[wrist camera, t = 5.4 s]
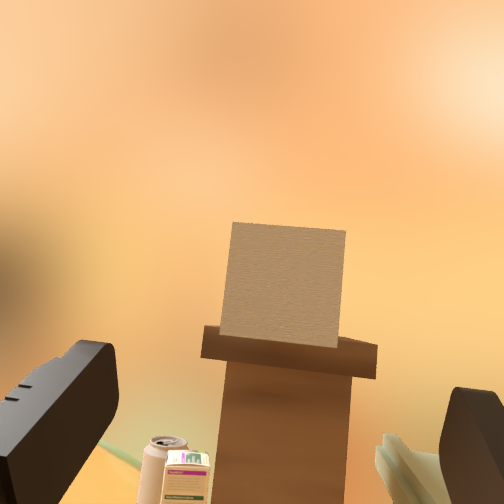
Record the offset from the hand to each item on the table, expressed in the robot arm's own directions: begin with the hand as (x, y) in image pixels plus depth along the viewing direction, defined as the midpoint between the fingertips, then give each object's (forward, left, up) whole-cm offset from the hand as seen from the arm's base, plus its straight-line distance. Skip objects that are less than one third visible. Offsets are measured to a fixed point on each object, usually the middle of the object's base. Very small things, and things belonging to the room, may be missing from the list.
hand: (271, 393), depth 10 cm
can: (+39, +50, -31) cm, 71 cm away
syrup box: (+31, +36, -31) cm, 57 cm away
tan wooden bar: (+10, +7, +1) cm, 13 cm away
